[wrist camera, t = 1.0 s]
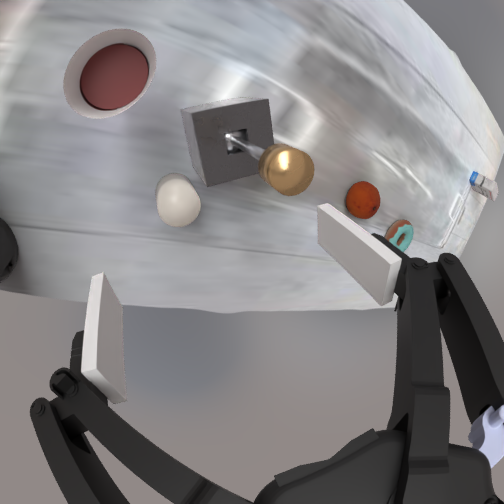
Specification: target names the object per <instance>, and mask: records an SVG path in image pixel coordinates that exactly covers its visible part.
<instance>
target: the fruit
mask: <svg viewBox="0 0 504 504" xmlns="http://www.w3.org/2000/svg"><path fill="white" fill-rule="evenodd" d="M346 205H347V208H348V210H349V212H350V213H351V214H352V215H353V216H355V217H357V218H361V219H368V218H371V217H372V216H373V215H374V214H375V213H376V212H377V210H378V208H379V206H380V195H379V192H378V190H377V188H376V187H375V186H373V185H372V184H370V183H368V182H365V181H361V182H358V183H355V184H354V185H353V186H352V187H351V188H350V190H349V192H348V194H347V197H346Z"/></svg>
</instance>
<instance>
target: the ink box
mask: <svg viewBox="0 0 504 504" xmlns="http://www.w3.org/2000/svg"><path fill="white" fill-rule="evenodd" d="M470 183H471V185H472V188H473V190H474V191H476V192H478V193H480V194H482V195H484V196H485V197H487V198H489V199H491V200H492V201H495V199H496V197H497V195H498V186H497V183H496V182H495V181H493V180H491V179H489V178H487V177H485V176H483V175H481V174H479V173H477V172H475V171H474V172H473V174H472V176H471V178H470Z"/></svg>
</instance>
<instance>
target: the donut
mask: <svg viewBox="0 0 504 504" xmlns="http://www.w3.org/2000/svg"><path fill="white" fill-rule="evenodd" d="M400 235H401V236H400ZM399 237H400V238H399ZM398 238H399V240H398ZM412 238H413V227H412V225H411V223H410V222H409V221H407V220H399V221H397V222H395V223H394V224H393V225H392V226H391V227H390V228H389V230H388V231H387V233H386V236H385V239H387V240H388V241H389V242H391V243H392V244H393V245H394V246H396V247H397V248H398V249H400V250H401V251H402V252H404V251H405V250H406V249H407V248H408V246H409V245H410V243H411V241H412ZM397 240H398V241H397Z"/></svg>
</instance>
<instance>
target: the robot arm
mask: <svg viewBox="0 0 504 504" xmlns="http://www.w3.org/2000/svg"><path fill="white" fill-rule="evenodd" d="M317 212H318V244H319V245H320V246H321V247H322V248H323V249H324V250H325V251H326V252H328V253H329V254H330V255H331V256H332V257H333V258H334V259H335V260H336V261H337V262H338V263H339V264H340V265H341V266H342V267H343V268H344V269H345V270H346V271H347V272H348V273H349V274H350V275H351V276H352V277H353V278H354V279H355V280H356V281H357V282H358V283H359V284H360V285H361V286H362V287H363V288H364V289H365V290H366V291H367V292H368V293H369V294H370V295H371V296H372V297H373V298H374V299H375V300H376V302H377V303H378V304H379V305H380V306H383V305H385V304H387V303H389V302H391V301H392V298H393V295H394V292H395V293H396V294H397V295H398V300H397V303H396V307H395V310H394V311H396V310H397V357H396V374H395V387H394V397H393V406H392V413H391V417H390V419H389V422H388V425H387V430H381V431H376V432H375V431H374V429H370V430H369V431H367V432H365V433H364V434H362V435H360V436H358V437H357V438H355V439H353V440H351V441H350V442H349V443H348V444H347V445H346V446H344V447H343V448H342V449H341V450H340V451H339V452H337V453H336V454H335V455H334V456H333V457H332V458H330V459H328V460H324V461H320V462H315V463H310V464H306V465H300V466H297V467H295V468H293V469H290V470H288V471H285V472H283V473H280V474H278V475H275V476H274V477H275V480H273V481H272V482H270V483H269V484H268V485H266V486H265V487H264V489H262V490H261V492H260V493H259V494H258V496H257V497H256V499H255V501H254V503H253V502H251V501H248V500H246V499H244V498H242V497H240V496H238V495H236V494H234V493H232V492H230V491H228V490H226V489H224V488H222V487H220V486H219V485H217V484H215V483H213V482H211V481H210V480H208V479H206V478H205V477H203V476H201V475H200V474H198V473H196V472H194V471H193V470H191V469H190V468H188V467H187V466H185V465H183V464H182V463H180V462H179V461H177V460H176V459H174V458H173V457H172V456H170V455H169V454H167V453H166V452H164V451H163V450H161V449H160V448H159V447H157V446H156V445H155V444H153V443H152V442H151V441H149V440H148V439H147V438H145V437H144V436H143V435H142V434H140V433H139V432H138V431H137V430H135V429H134V428H133V427H131V426H130V425H129V424H128V423H127V422H126V421H124V420H123V419H122V418H121V417H120V416H118V415H117V414H116V413H115V412H114V411H113V410H112V409H111V408H110V407H108V401H107V399H108V400H110V401H111V402H112V403H113V404H116V403H121V402H125V401H127V392H126V382H125V368H124V353H123V352H124V351H123V314H122V312H123V309H122V308H123V307H122V305H121V304H120V302H119V300H118V298H117V296H116V295H115V293H114V291H113V289H112V287H111V285H110V283H109V282H108V280H107V278H106V276H105V274H104V272H103V273H100V274H97V275H94V276H92V281H91V286H90V292H89V299H88V306H87V313H86V321H85V329H84V330H83V331H80V332H77V333H76V335H75V337H74V339H73V342H72V351H71V359H70V369H68V368H60V369H58V370H57V371H55V372H54V374H53V375H52V377H51V379H50V388H51V390H52V391H53V392H54V393H55V394H56V395H57V396H58V397H57V398H55V399H53V400H52V401H50V402H49V401H48V400H47V399H45V398H38V399H36V400H35V401H34V402H33V403H32V405H31V409H30V416H31V419H32V422H33V425H34V428H35V431H36V434H37V437H38V440H39V442H40V445H41V447H42V450H43V452H44V455H45V457H46V459H47V462H48V464H49V466H50V469H51V471H52V473H53V475H54V477H55V479H56V481H57V483H58V485H59V487H60V489H61V491H62V493H63V494H64V497H65V498H66V500H67V502H68V504H130V503H129V502H128V501H127V499H126V498H125V497H124V495H123V494H122V493H121V491H120V490H119V489H118V487H117V486H116V484H115V483H114V481H113V480H112V478H111V477H110V475H109V474H108V472H107V471H106V469H105V468H104V466H103V465H102V463H101V461H100V460H99V458H98V456H97V455H96V453H95V451H94V450H93V448H92V446H91V445H90V443H89V441H88V439H87V437H86V436H85V434H84V432H86V431H88V430H89V431H90V432H91V433H92V434H93V435H94V436H95V437H96V438H97V439H98V440H99V441H100V443H101V444H102V445H104V446H105V447H106V448H107V449H108V450H109V451H110V452H111V453H112V454H113V455H114V456H115V457H116V458H117V459H118V460H119V461H121V462H122V463H123V464H124V465H125V466H126V467H127V468H129V469H130V470H131V471H132V472H133V473H134V474H135V475H137V476H138V477H139V478H140V479H142V480H143V481H144V482H146V483H147V484H148V485H149V486H150V487H152V488H153V489H154V490H156V491H157V492H158V493H160V494H161V495H163V496H164V497H165V498H167V499H168V500H170V501H171V502H173V503H174V504H504V502H503V501H501V500H500V499H499V498H498V497H497V496H496V494H495V492H494V489H493V485H492V478H491V468H492V467H493V466H494V465H495V464H496V463H497V462H498V461H499V460H500V459H501V458H502V457H503V456H504V342H503V340H502V338H501V335H500V333H499V331H498V329H497V327H496V325H495V323H494V321H493V319H492V316H491V315H490V313H489V311H488V309H487V307H486V305H485V303H484V301H483V299H482V297H481V296H480V294H479V292H478V290H477V289H476V287H475V285H474V283H473V282H472V280H471V278H470V277H469V275H468V273H467V272H466V270H465V268H464V267H463V265H462V263H461V262H460V260H459V259H458V258H457V257H456V256H455V255H453V254H451V253H442V254H441V255H440V256H439V259H438V262H432V263H428V262H427V261H425V260H424V259H421V258H410V257H409V256H407V255H406V254H405V253H403V252H402V251H401V250H400V249H398V248H397V247H396V246H394V245H393V244H392V243H391V242H389V241H388V240H387V239H385V238H384V237H383V236H380V235H378V234H375V233H373V234H369V233H368V232H367V231H365V230H364V229H363V228H361V227H360V226H359V225H357V224H356V223H355V222H353V221H352V220H351V219H349V218H348V217H347V216H345V215H344V214H342V213H341V212H340V211H338V210H337V209H335V208H334V207H333V206H331V205H330V204H328V203H326V204H323V205H319V206H317ZM17 257H18V248H17V243H16V240H15V237H14V235H13V233H12V231H11V229H10V228H9V226H8V225H7V224H6V223H5V221H3V220H2V219H1V218H0V283H1V282H2V281H3V280H5V279H6V278H7V277H8V276H9V275H10V274H11V272H12V271H13V269H14V267H15V265H16V262H17ZM440 328H441V331H442V333H443V336H444V339H445V342H446V345H447V348H448V350H449V353H450V356H451V359H452V363H453V365H454V369H455V372H456V376H457V379H458V382H459V386H460V390H461V393H462V397H463V401H464V405H465V408H466V412H467V415H468V417H469V420H470V422H471V424H472V427H471V432H470V433H469V436H468V438H469V441H470V442H471V443H473V447H472V448H470V447H464V446H460V445H455V444H450V443H449V429H450V390H449V388H447V387H445V386H444V379H443V378H444V377H443V357H442V344H441V333H440Z"/></svg>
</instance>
